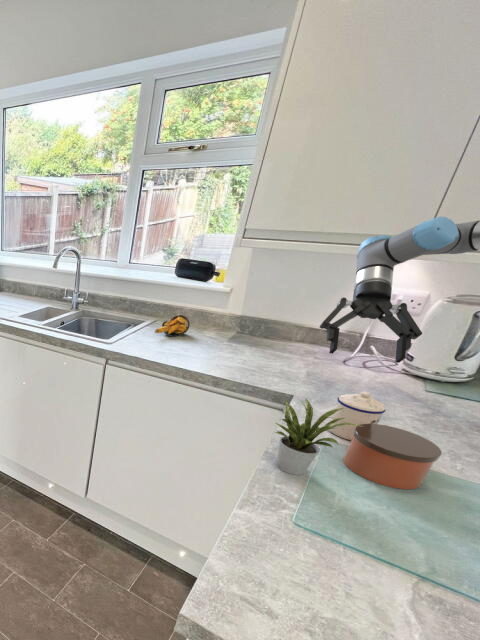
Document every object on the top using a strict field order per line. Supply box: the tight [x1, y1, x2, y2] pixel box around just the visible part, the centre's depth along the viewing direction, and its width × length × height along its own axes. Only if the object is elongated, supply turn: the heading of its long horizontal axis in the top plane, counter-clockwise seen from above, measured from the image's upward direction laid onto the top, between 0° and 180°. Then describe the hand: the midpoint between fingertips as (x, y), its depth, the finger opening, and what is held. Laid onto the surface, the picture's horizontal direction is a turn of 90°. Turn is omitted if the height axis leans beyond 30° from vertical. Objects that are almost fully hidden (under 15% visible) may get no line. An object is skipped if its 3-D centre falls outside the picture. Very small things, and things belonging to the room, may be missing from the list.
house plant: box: [273, 398, 363, 476], centre depth 90 cm, size 14×14×16 cm
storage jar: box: [342, 423, 442, 490], centre depth 91 cm, size 14×14×8 cm
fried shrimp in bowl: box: [154, 314, 191, 337], centre depth 178 cm, size 9×11×18 cm
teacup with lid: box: [328, 391, 387, 441], centre depth 105 cm, size 12×9×12 cm
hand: (365, 355), depth 109 cm, fingers open, 13 cm apart
